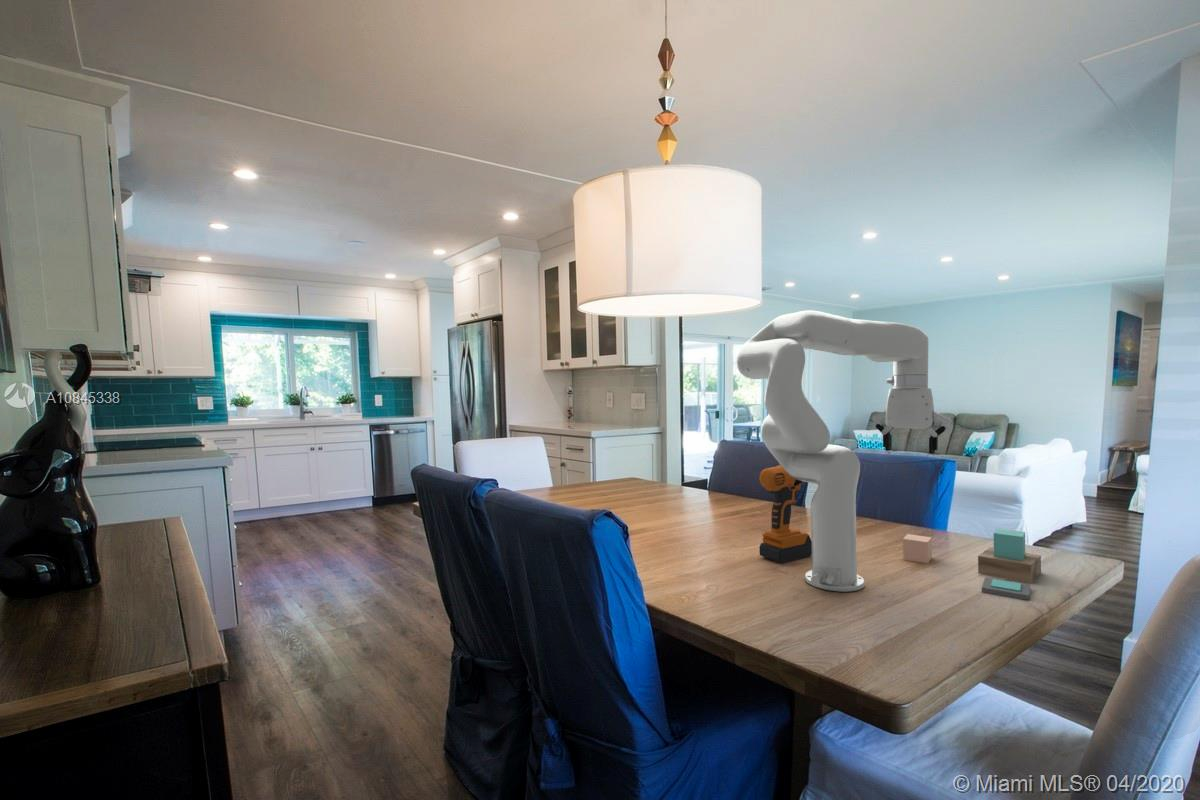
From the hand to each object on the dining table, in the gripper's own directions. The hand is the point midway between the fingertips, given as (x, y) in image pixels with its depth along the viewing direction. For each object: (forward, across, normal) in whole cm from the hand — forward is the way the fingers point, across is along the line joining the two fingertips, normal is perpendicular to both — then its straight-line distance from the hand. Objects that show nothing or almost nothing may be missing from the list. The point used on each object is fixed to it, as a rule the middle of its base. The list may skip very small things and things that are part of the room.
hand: (909, 451), depth 136 cm
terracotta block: (+28, 0, +8) cm, 29 cm away
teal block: (+24, +20, +8) cm, 32 cm away
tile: (+28, +20, -6) cm, 35 cm away
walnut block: (+28, +20, +8) cm, 35 cm away
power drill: (+29, -26, -8) cm, 40 cm away
